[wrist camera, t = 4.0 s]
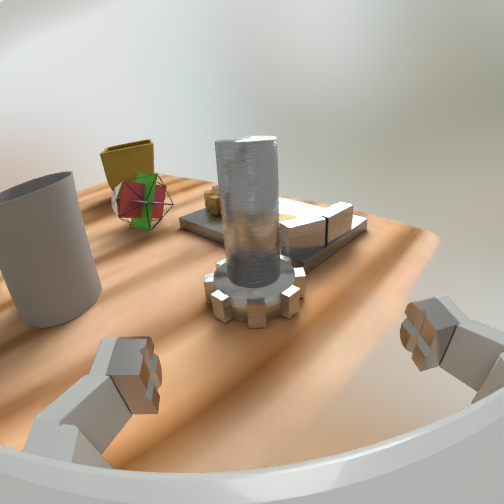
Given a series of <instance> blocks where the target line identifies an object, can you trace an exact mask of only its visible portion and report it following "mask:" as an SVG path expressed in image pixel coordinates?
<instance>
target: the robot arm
mask: <svg viewBox="0 0 504 504" xmlns="http://www.w3.org/2000/svg"><path fill="white" fill-rule="evenodd" d="M2 1H3V0H0V6H1V4H2ZM405 314H406V316H407V318H406V319H405V320H404V321H403V322H402V324H401V329H400V338H401V341H402V344H403V346H404V347H405V349H406V350H408V351H410V352H412V359H413V361H414V363H415V364H416V366H417V367H418V369H419V371H424V370H427V369H430V368H433V367H437V366H440V367H441V368H442V369H444V370H445V371H447V372H448V373H450V374H451V375H453V376H454V377H456V378H458V379H459V380H461V381H462V382H463V383H465V384H466V385H468V386H470V387H471V388H473V389H474V390H475V391H477V392H478V393H477V394H476V396H475V397H474V399H473V400H472V403H471V405H469V406H467V407H465V408H463V409H461V410H459V411H457V412H455V413H453V414H451V415H449V416H446V417H444V418H442V419H440V420H437V421H435V422H433V423H430V424H428V425H425V426H423V427H420V428H418V429H415V430H413V431H410V432H407V433H405V434H402V435H399V436H396V437H393V438H390V439H387V440H384V441H382V442H378V443H375V444H372V445H368V446H365V447H361V448H358V449H354V450H351V451H347V452H343V453H339V454H335V455H331V456H326V457H323V458H318V459H313V460H308V461H302V462H297V463H291V464H285V465H279V466H272V467H265V468H257V469H247V470H237V471H224V472H203V473H160V472H140V471H127V470H117V469H114V468H113V467H112V465H111V464H110V463H109V462H108V461H107V460H106V459H105V458H104V457H103V456H102V453H103V452H104V451H105V450H106V448H107V447H108V446H109V445H110V443H111V442H112V441H113V439H114V438H115V437H116V436H117V434H118V433H119V432H120V430H121V429H122V428H123V427H124V425H125V424H126V423H127V422H128V420H129V419H130V418H131V416H132V415H131V414H158V409H159V401H160V396H159V393H158V391H157V389H158V388H159V387H160V386H161V383H162V369H161V364H160V360H159V357H158V356H157V355H155V354H154V353H153V352H154V343H153V341H152V338H151V337H149V336H147V337H105V338H103V339H102V340H101V343H100V345H99V348H98V351H97V354H96V356H95V359H94V362H93V365H92V368H91V371H90V373H89V375H84V376H83V377H82V378H81V379H80V380H78V381H77V382H76V383H75V384H74V385H73V386H71V387H70V388H69V389H68V390H67V391H65V392H64V393H63V394H62V395H61V396H60V397H58V398H57V399H56V400H55V401H54V402H52V403H51V404H50V405H49V406H48V407H47V408H45V409H44V410H43V411H42V412H41V413H40V414H38V415H37V416H36V417H35V418H34V420H33V423H32V426H31V429H30V432H29V435H28V438H27V441H26V444H25V447H24V450H23V451H19V450H16V449H13V448H10V447H6V446H3V445H0V504H504V332H502V331H499V330H497V329H495V328H492V327H490V326H488V325H485V324H483V323H481V322H478V321H476V320H470V319H469V318H468V317H467V316H466V315H465V314H464V313H463V312H462V310H461V309H460V308H459V307H458V306H457V305H456V304H455V303H454V302H453V301H452V300H451V299H450V298H449V297H448V296H446V295H444V294H443V295H439V296H435V297H432V298H428V299H425V300H420V301H415V302H410V303H409V304H408V305H407V307H406V310H405Z"/></svg>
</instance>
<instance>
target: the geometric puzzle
mask: <svg viewBox="0 0 504 504" xmlns="http://www.w3.org/2000/svg"><path fill="white" fill-rule="evenodd" d="M136 174H137V178H135V179H136V183H134V182H130V181H131V180H132V179H133V178H132V179H130V181H129V182H125V181H122V182H121V183H120V184H119V185H117V186H116V187H115V188H114V191H113V195H112V209H113V211H114V212H115V213H116V215H117V216H118V218H121V220H122V218H132V220H131V222H130V223H131V225H130V226H133V227H137V228H140V229H144V230H147V231H150V232H151V230H152V229H153V228H154V227H153V228H152V229H151V230H150V228H151V219H152V218H160V219H163V218H162V214H163V206H164V204H166V205H172V206H173V205H174V204H167V203H164V199H165V191H166V188H167V186H165V185H163V186H159V185H156V180H157V175H158V173H157V174H152V173H138V172H137V173H136ZM158 177H159V175H158ZM127 179H128V178H127ZM160 179H161V178H160ZM126 181H128V180H126ZM162 182H163V181H162ZM157 183H158V182H157ZM121 184H122V189H121V191H120V192H121V197H120V205H119V215H118V211H117V203H116V198H117V195H118V192H119V190H120V187H121ZM159 184H160V183H159ZM162 184H163V183H162ZM162 184H161V185H162ZM166 192H167V191H166ZM168 193H169V192H168ZM168 193H167V194H168ZM168 196H169V195H168ZM170 198H171V197H170ZM171 201H172V199H171ZM172 203H173V202H172ZM118 204H119V203H118ZM169 210H170V209H169ZM169 210H168V211H169ZM168 211H167V212H168ZM167 212H166V213H167ZM166 213H165V214H166ZM165 214H164V215H165ZM163 217H164V216H163ZM123 220H124V219H123ZM156 220H159V219H156ZM125 221H126V220H125ZM125 221H124V222H125ZM152 221H154V220H152ZM159 221H160V220H159ZM159 221H158V222H159ZM127 222H129V221H127ZM158 222H157V223H158ZM130 223H129V224H130ZM157 223H156V224H157ZM127 224H128V223H127Z"/></svg>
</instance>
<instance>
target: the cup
mask: <svg viewBox="0 0 504 504" xmlns="http://www.w3.org/2000/svg"><path fill="white" fill-rule="evenodd" d="M0 270H1V273H2V275H3V278H4V280H5V283H6V285H7V288H8V290H9V292H10V294H11V297H12V299H13V301H14V303H15V306H16V308H17V310H18V312H19V314H20V316H21V318H22V319H23V320H24V322H25V323H26V324H27V325H29V326H33V327H37V328H47V327H52V326H57V325H62V324H64V323H66V322H68V321H70V320H72V319H74V318H76V317H78V316H80V315H82V314H83V313H84V312H85V311H86V310H87V309H89V308H90V307H91V306H92V305H93V304H94V303H95V302H96V301H97V299H98V297H99V295H100V293H101V291H102V286H101V283H100V279H99V276H98V273H97V270H96V266H95V263H94V260H93V256H92V253H91V249H90V246H89V242H88V239H87V235H86V231H85V227H84V223H83V219H82V215H81V211H80V206H79V202H78V197H77V193H76V188H75V183H74V178H73V173H72V172H60V173H55V174H51V175H47V176H43V177H40V178H37V179H33V180H30V181H28V182H25V183H22V184H19V185H17V186H14V187H12V188H10V189H7V190H5V191H3V192H1V193H0Z"/></svg>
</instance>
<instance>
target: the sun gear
mask: <svg viewBox="0 0 504 504" xmlns="http://www.w3.org/2000/svg"><path fill="white" fill-rule="evenodd" d="M204 197H205V206H206V210H207V209H210V214H212V215H216V216H218V215H221V205H220V195H219V185H216V186H213V187H212V190H207V191H205V192H204Z"/></svg>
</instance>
